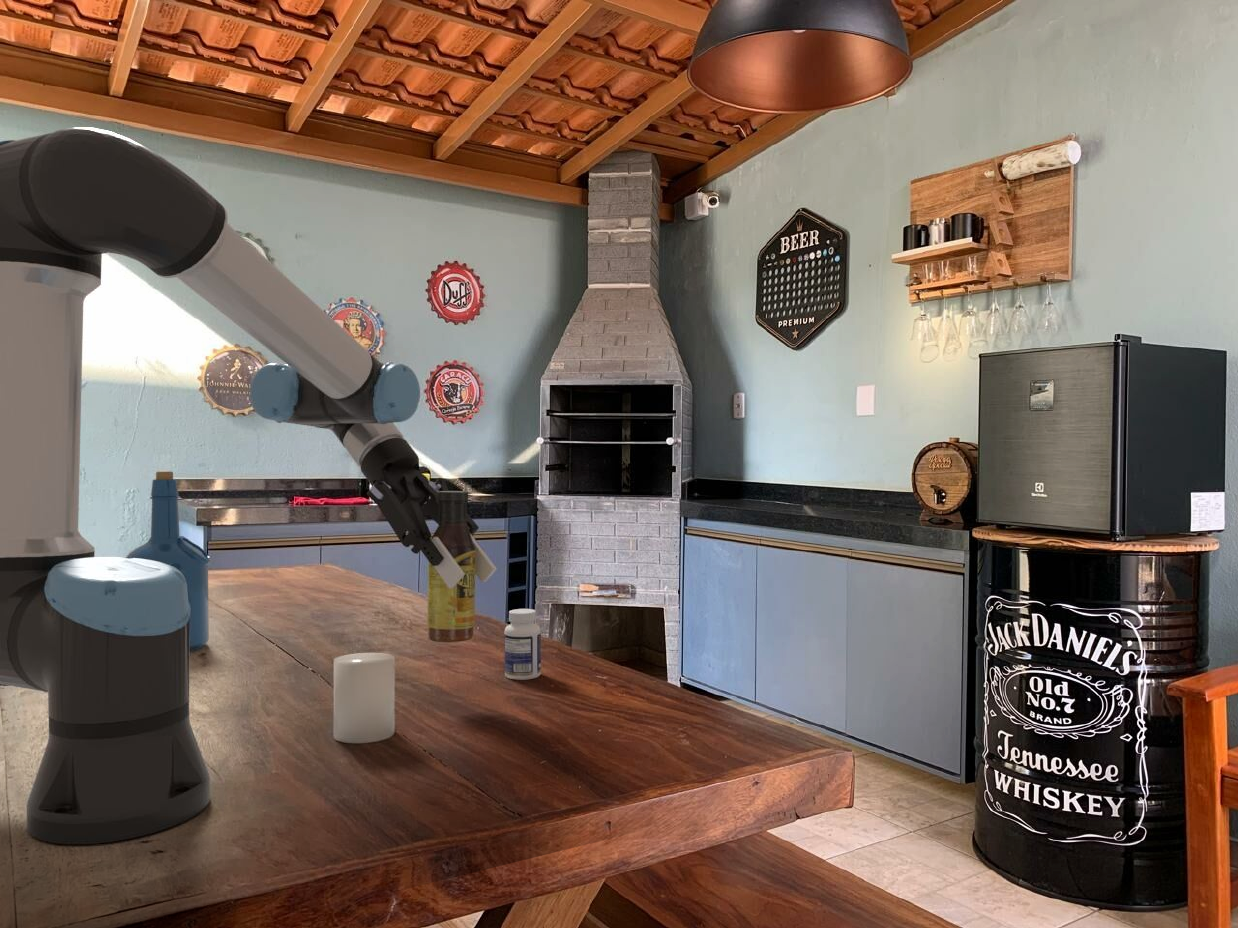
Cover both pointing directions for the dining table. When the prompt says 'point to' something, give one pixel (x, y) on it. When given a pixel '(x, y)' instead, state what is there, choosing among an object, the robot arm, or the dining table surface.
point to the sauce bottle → (457, 605)
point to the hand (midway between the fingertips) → (473, 578)
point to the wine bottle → (178, 553)
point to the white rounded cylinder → (364, 697)
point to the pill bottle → (522, 645)
